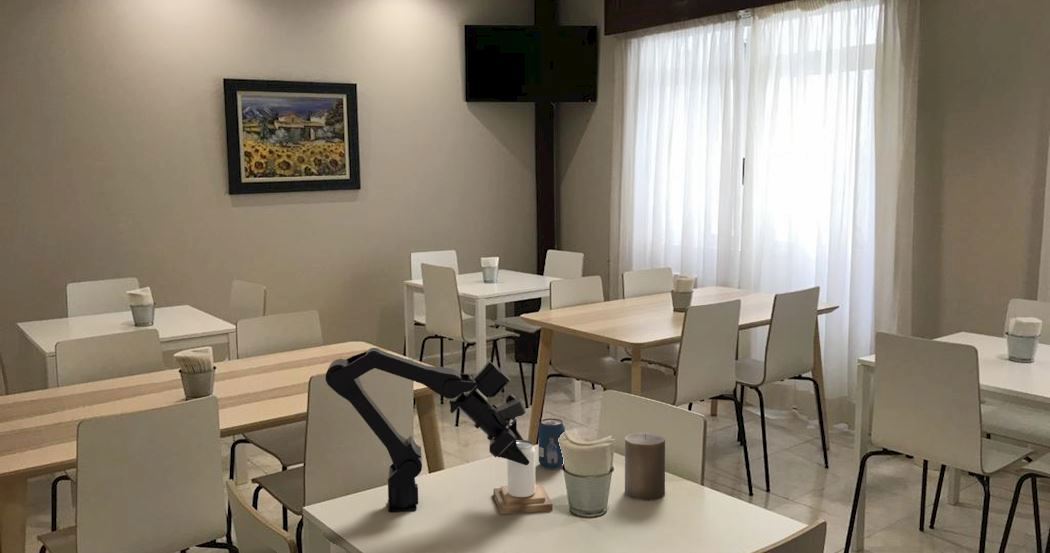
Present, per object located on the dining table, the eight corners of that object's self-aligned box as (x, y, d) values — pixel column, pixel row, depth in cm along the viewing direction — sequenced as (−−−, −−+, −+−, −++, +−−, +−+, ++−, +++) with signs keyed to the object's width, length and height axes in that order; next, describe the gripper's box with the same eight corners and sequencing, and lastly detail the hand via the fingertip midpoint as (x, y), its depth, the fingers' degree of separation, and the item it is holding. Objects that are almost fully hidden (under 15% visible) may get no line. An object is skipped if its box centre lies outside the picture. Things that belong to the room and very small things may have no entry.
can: (532, 487, 205) (531, 438, 204) (538, 497, 199) (537, 447, 197) (505, 489, 204) (504, 440, 202) (510, 499, 197) (510, 449, 196)
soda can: (555, 459, 232) (555, 416, 230) (570, 466, 226) (570, 422, 224) (533, 464, 228) (533, 420, 226) (548, 472, 222) (548, 427, 221)
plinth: (501, 514, 195) (500, 503, 195) (493, 494, 207) (493, 484, 207) (552, 510, 198) (552, 499, 197) (542, 490, 209) (542, 481, 209)
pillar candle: (670, 499, 204) (671, 438, 202) (630, 502, 202) (631, 440, 200) (657, 485, 213) (658, 426, 211) (619, 487, 212) (620, 428, 210)
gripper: (504, 398, 189) (553, 446, 191) (505, 377, 208) (550, 421, 209) (468, 433, 190) (518, 480, 192) (473, 409, 209) (518, 452, 210)
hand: (528, 456), depth 201 cm, fingers open, 9 cm apart
